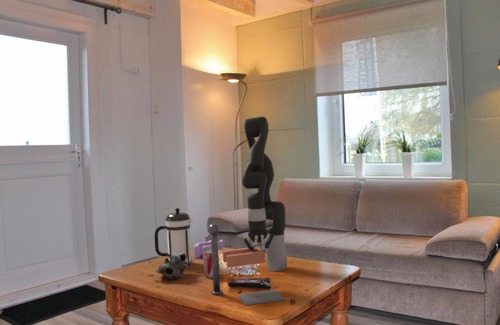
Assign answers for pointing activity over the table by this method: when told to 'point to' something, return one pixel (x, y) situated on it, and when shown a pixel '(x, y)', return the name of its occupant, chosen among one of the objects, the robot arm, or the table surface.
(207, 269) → the soda can
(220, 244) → the clip
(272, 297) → the felt mat
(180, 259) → the dark grey lumpy piece
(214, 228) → the stand
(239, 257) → the c link
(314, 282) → the table surface
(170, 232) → the coffee press
